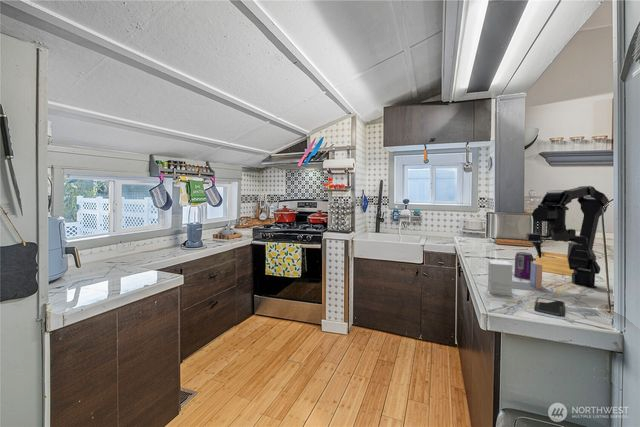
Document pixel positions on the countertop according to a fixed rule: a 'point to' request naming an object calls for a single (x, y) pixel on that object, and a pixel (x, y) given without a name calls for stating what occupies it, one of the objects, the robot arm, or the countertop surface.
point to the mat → (526, 286)
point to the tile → (536, 275)
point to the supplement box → (500, 277)
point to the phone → (550, 307)
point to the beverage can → (523, 265)
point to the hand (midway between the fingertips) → (554, 259)
